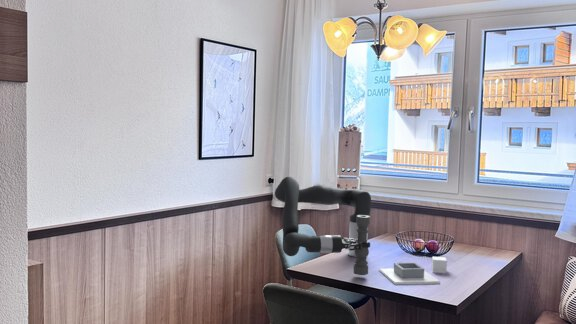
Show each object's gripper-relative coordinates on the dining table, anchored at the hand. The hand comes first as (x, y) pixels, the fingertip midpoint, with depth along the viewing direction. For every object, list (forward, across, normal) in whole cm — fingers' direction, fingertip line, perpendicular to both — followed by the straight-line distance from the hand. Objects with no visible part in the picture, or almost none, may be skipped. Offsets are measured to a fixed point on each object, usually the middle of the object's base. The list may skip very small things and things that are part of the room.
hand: (368, 243), depth 226 cm
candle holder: (-3, 0, +13) cm, 13 cm away
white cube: (+37, +8, +16) cm, 41 cm away
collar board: (+19, 0, +15) cm, 24 cm away
